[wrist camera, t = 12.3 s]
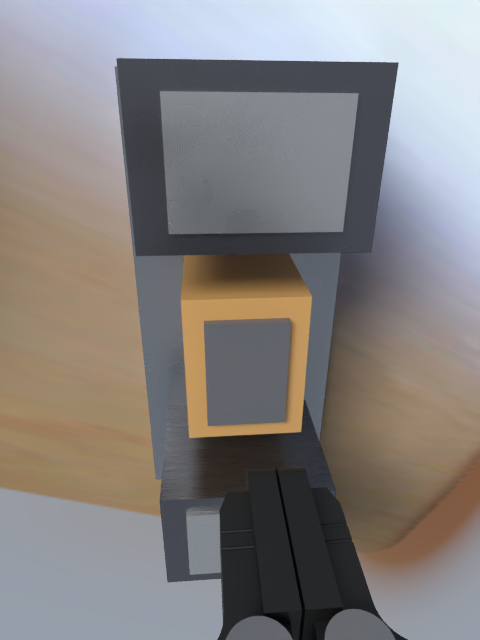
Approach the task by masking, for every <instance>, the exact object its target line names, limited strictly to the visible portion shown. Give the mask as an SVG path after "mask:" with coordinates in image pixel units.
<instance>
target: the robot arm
mask: <svg viewBox="0 0 480 640" xmlns="http://www.w3.org/2000/svg"><path fill="white" fill-rule="evenodd" d="M219 513H220V560H221V583H222V608H223V627H222V630H221V633H220V636H219V638H218V640H407V639H405V638H404V637H402V636H400V635H399V634H397V633H396V632H394V631H393V630H392V629H391V628H390V627H389V626H387V624H386V623H385V622H384V621H383V620H382V619H381V617H380V615H379V614H378V612H377V610H376V608H375V606H374V604H373V601H372V598H371V595H370V592H369V589H368V586H367V583H366V580H365V577H364V574H363V571H362V568H361V565H360V562H359V559H358V556H357V553H356V550H355V547H354V544H353V543H352V538H351V535H350V532H349V529H348V526H347V525H346V520H345V517H344V514H343V511H342V508H341V505H340V503H339V502H338V500H337V499H336V498H335V497H334V496H333V494H332V493H331V492H330V491H329V490H328V488H327V487H321V488H311V487H310V484H309V480H308V476H307V473H306V470H305V468H304V467H290V468H276V469H274V468H273V469H253V470H246V481H245V492H231V493H227V494H226V496H225V499H224V501H223V503H222V506H221V508H220V510H219Z"/></svg>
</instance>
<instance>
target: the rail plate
mask: <svg viewBox="0 0 480 640" xmlns="http://www.w3.org/2000/svg"><path fill="white" fill-rule="evenodd" d="M397 69H398V63H386V62H321V61H255V60H190V59H125V58H117V67H115V74H116V84H117V94H118V104H119V114H120V124H121V134H122V144H123V154H124V164H125V174H126V184H127V194H128V204H129V214H130V224H131V234H132V244H133V254H134V264H135V274H136V284H137V294H138V305H139V315H140V325H141V335H142V345H143V355H144V365H145V375H146V385H147V395H148V405H149V415H150V425H151V435H152V445H153V455H154V465H155V475H156V479H162V483H161V493H160V509H161V519H162V529H163V540H164V550H165V559H166V569H167V580H168V582H177V581H193V580H207V579H221V560H220V513H219V510H220V508H221V506H222V503H223V501H224V499H225V496H226V494H227V493H231V492H245V481H246V470H253V469H273V468H274V469H276V468H290V467H304V468H305V470H306V473H307V476H308V480H309V484H310V487H311V488H321V487H327V488H328V490H329V491H330V492H331V493H332V494H333V496H334V497H335V495H336V489H335V486H334V483H333V480H332V478H331V475H330V472H329V469H328V466H327V463H326V460H325V457H324V454H323V451H322V448H321V445H320V433H321V424H322V415H323V407H324V398H325V389H326V381H327V372H328V363H329V354H330V346H331V337H332V328H333V320H334V311H335V302H336V294H337V285H338V276H339V267H340V259H341V253H357V252H371V248H372V241H373V234H374V227H375V220H376V214H377V207H378V200H379V193H380V186H381V179H382V172H383V165H384V159H385V152H386V145H387V138H388V131H389V124H390V117H391V111H392V104H393V97H394V90H395V83H396V76H397ZM237 254H290V256H291V258H292V260H293V262H294V264H295V265H296V267H297V269H298V271H299V273H300V275H301V277H302V279H303V280H304V282H305V284H306V286H307V288H308V290H309V292H310V293H311V295H312V304H311V316H310V328H309V341H308V353H307V366H306V378H305V390H304V403H303V415H302V427H301V432H293V433H274V434H255V435H236V436H217V437H198V438H189V426H188V410H187V394H186V378H185V361H184V345H183V329H182V313H181V291H182V279H183V267H184V255H237Z"/></svg>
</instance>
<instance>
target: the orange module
mask: <svg viewBox="0 0 480 640" xmlns="http://www.w3.org/2000/svg"><path fill="white" fill-rule="evenodd" d="M311 304H312V295H311V293H310V292H309V290H308V288H307V286H306V284H305V282H304V280H303V279H302V277H301V275H300V273H299V271H298V269H297V267H296V265H295V264H294V262H293V260H292V258H291V256H290V254H237V255H184V267H183V279H182V291H181V313H182V329H183V345H184V361H185V378H186V394H187V410H188V426H189V438H198V437H217V436H236V435H255V434H274V433H293V432H301V427H302V415H303V403H304V390H305V378H306V366H307V353H308V341H309V328H310V316H311Z"/></svg>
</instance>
